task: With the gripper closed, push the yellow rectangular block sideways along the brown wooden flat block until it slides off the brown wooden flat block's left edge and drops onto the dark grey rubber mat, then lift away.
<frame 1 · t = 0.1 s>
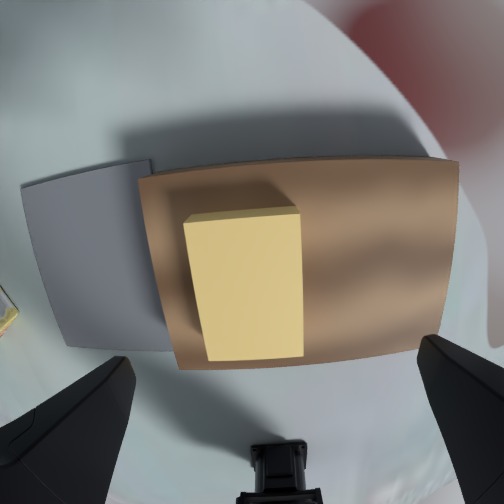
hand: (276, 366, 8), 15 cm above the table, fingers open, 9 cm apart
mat: (96, 269, 24), on the table
yellow rectangular block: (250, 281, 19), point 4 cm above the table, touching brown wooden flat block
brown wooden flat block: (306, 254, 23), on the table
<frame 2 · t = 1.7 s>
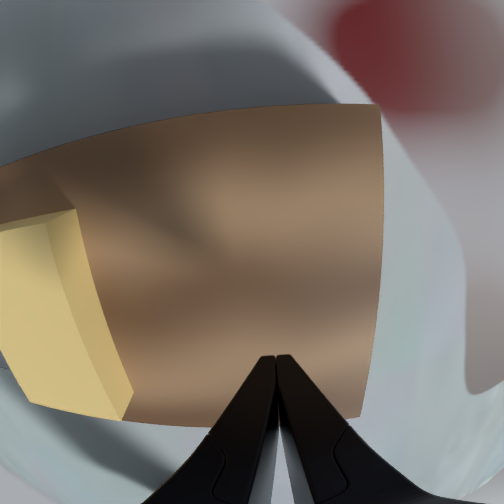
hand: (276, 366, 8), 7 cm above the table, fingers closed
yellow rectangular block: (52, 313, 12), point 4 cm above the table, touching brown wooden flat block
brown wooden flat block: (153, 274, 15), on the table
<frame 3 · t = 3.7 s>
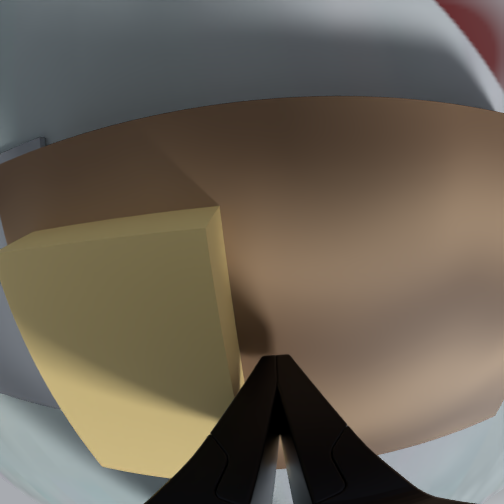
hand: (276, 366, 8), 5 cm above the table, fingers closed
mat: (2, 303, 14), on the table
yellow rectangular block: (147, 357, 9), point 4 cm above the table, touching brown wooden flat block, gripper
brown wooden flat block: (307, 290, 13), on the table
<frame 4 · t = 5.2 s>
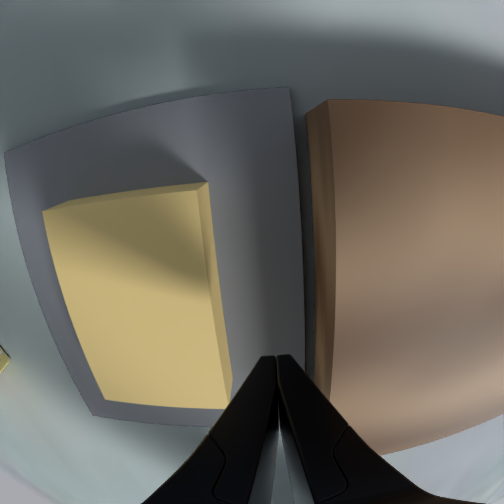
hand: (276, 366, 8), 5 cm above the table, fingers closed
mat: (151, 302, 13), on the table
yellow rectangular block: (134, 322, 11), point 2 cm above the table, tilted 180°, touching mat
brown wooden flat block: (498, 268, 12), on the table
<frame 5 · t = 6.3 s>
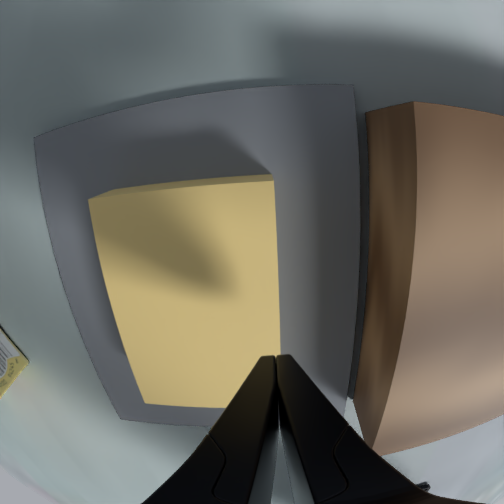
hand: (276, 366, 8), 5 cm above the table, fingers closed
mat: (199, 299, 13), on the table
yellow rectangular block: (191, 320, 10), point 2 cm above the table, tilted 180°, touching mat
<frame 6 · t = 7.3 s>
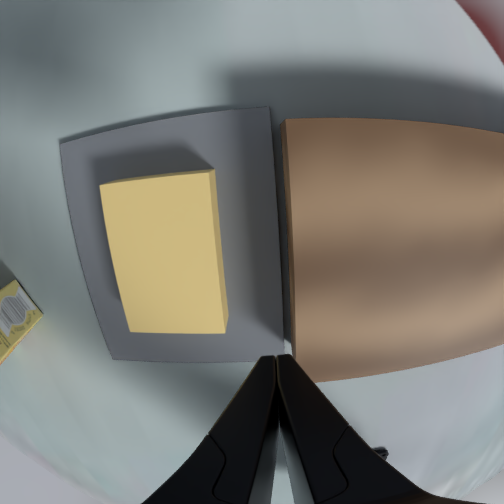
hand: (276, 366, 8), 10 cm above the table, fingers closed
candy box: (14, 317, 21), on the table
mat: (171, 254, 19), on the table
yellow rectangular block: (161, 262, 16), point 2 cm above the table, tilted 180°, touching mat
brown wooden flat block: (437, 237, 18), on the table
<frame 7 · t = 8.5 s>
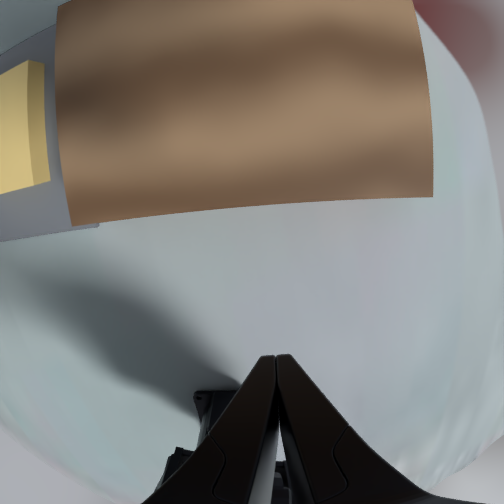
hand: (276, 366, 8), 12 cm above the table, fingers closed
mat: (19, 136, 17), on the table
yellow rectangular block: (1, 131, 15), point 2 cm above the table, tilted 180°, touching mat
brown wooden flat block: (238, 80, 16), on the table
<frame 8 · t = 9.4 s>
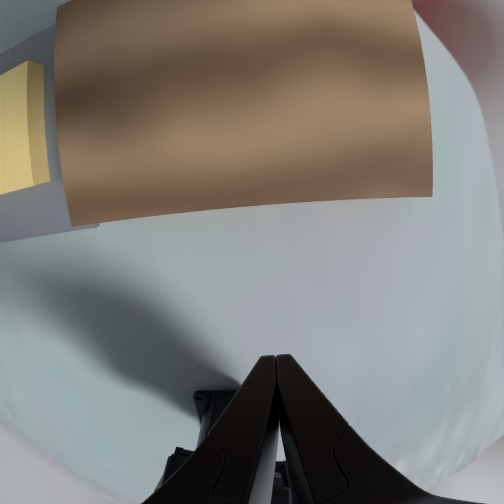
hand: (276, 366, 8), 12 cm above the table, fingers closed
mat: (19, 136, 17), on the table
yellow rectangular block: (0, 132, 15), point 2 cm above the table, tilted 180°, touching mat
brown wooden flat block: (237, 80, 16), on the table
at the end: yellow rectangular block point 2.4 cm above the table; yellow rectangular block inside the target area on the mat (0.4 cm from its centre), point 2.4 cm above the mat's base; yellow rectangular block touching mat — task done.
